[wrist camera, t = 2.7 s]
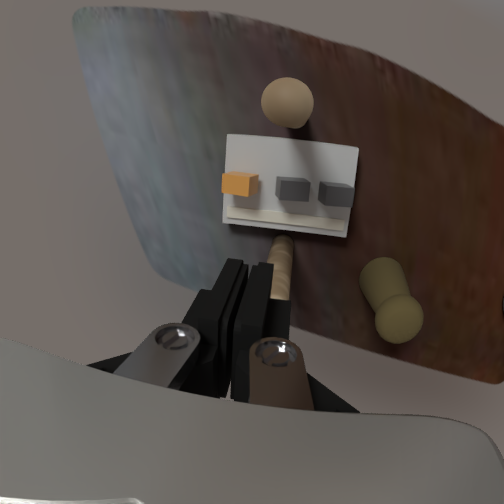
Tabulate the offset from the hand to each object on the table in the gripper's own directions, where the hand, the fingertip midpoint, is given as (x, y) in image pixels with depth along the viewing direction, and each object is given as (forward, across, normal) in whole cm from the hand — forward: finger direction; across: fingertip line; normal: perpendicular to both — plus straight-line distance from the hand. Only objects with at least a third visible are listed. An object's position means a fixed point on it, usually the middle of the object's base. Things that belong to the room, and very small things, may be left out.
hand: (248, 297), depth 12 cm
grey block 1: (+24, -1, 0) cm, 24 cm away
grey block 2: (+24, -5, 0) cm, 25 cm away
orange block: (+24, +4, 0) cm, 25 cm away
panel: (+26, -1, 0) cm, 26 cm away
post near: (+26, -1, -7) cm, 27 cm away
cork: (+26, -14, +11) cm, 32 cm away
